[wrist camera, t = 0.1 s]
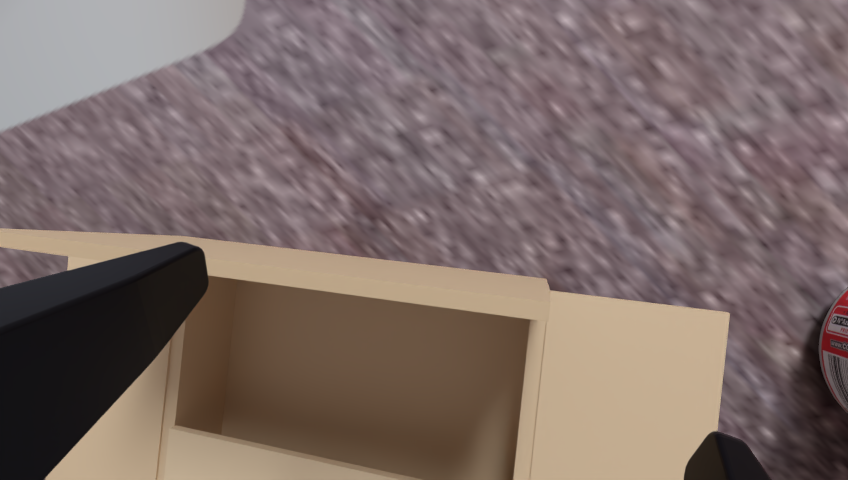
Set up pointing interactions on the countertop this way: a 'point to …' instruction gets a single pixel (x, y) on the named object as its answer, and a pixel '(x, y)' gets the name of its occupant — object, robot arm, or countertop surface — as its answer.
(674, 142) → the countertop surface
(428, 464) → the carton
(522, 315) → the flap
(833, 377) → the soda can
